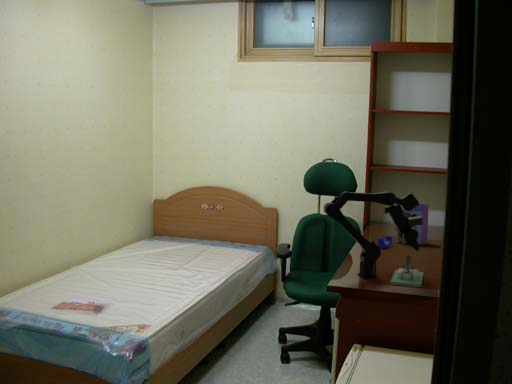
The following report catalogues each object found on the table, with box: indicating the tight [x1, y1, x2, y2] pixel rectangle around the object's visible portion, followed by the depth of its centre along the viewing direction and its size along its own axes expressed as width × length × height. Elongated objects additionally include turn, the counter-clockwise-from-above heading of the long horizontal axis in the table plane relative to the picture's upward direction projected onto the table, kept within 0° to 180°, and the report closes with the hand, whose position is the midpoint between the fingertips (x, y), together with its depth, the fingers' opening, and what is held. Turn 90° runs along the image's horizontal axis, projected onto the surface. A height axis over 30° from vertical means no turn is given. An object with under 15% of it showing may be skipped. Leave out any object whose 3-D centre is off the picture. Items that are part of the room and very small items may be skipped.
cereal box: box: [396, 203, 429, 245], centre depth 323 cm, size 17×5×24 cm, turn 77°
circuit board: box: [390, 269, 424, 288], centre depth 229 cm, size 24×12×1 cm, turn 160°
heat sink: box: [397, 264, 419, 280], centre depth 229 cm, size 13×8×4 cm, turn 160°
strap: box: [403, 255, 412, 274], centre depth 228 cm, size 12×3×1 cm, turn 161°
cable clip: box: [377, 235, 393, 249], centre depth 308 cm, size 12×4×6 cm, turn 141°
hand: (415, 248), depth 234 cm, fingers open, 9 cm apart
